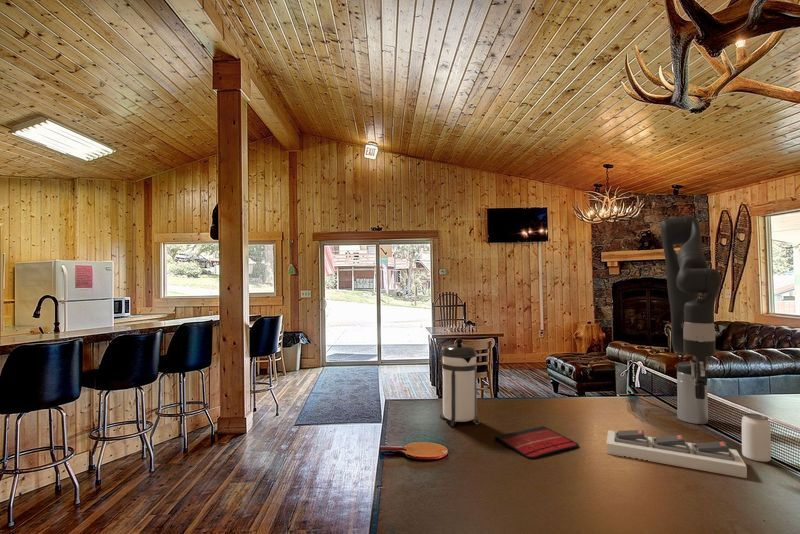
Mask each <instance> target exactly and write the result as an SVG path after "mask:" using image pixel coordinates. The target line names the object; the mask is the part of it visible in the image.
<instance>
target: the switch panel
mask: <svg viewBox="0 0 800 534" xmlns="http://www.w3.org/2000/svg"><path fill="white" fill-rule="evenodd" d="M728 449H729V451H728V452H710V453H704V452H699V451H698V448H697V445H696V443H692V442H686V441H685V444H682V445H672V446H661V445H657V442H656V437H655V436H654V437H653V436H647V435H645V439H619V438H618V431H614V430H609V429H608V430H607V437H606V454H608V455H613V456H620V457H624V456H626V457H625V458H629V457H631V458H630V459H635V458H638V459H637V460H641V459H643V460H642V461H646V460H648V462H651V463H652V462H654V463H659V464H665V465H669V466H676V467H679V468H680V467H681V468H687V469H692V470H698V471H704V472H709V473H715V474H721V475H727V476H733V477H738V478H743V479H747V478H748V474H747V473H748V470H747V467H748V466H747V465H746V463H745V462H744V460H743V459H742V456H740V453H739V452H738V450H737V449H733V448H728Z"/></svg>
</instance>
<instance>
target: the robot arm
mask: <svg viewBox="0 0 800 534" xmlns="http://www.w3.org/2000/svg"><path fill="white" fill-rule="evenodd" d="M700 227H701V226H700V223H699V220H698V219H697V218H696V217H695V216H693V215H688V216H687V215H686V216H678V217H671V218H665V219H663V220H662V221H661V222H660V235H661V242H662V250H663V253H664V261H665V268H666V269H665V270H666V271H665V272H666V283H667V284H666V286H667V296H668V302H669V309H670V310H669V311H670V320H671V321H670V322H671V323H670V324H671V325H670V326H671V327H670V329H671V330H670V331H671V345H672V348H673V350H674V351H675V352H676V353H680V354H685V355H689V356H692V359H690V360H687V361H682V362H678V363H677V365H676V387H677V388H676V389H677V390H676V391H677V392H676V394H677V395H676V396H677V397H676V398H677V399H676V400H677V402H676V403H677V406H676V407H677V412H676V413H677V416H676V417H677V419H679V420H680V421H682V422H686V423H690V424H696V425H699V424H700V425H704V424H708V423H709V394H708V393H709V392H708V390H709V389H708V385H709V384H708V377H709V369H710V364H709V362H708V358H709V357H711V358H712V357H714V356H715V355H716V329H715V315H714V314H715V311H714V310H715V303H716V300H717V295H718V293H719V289H720V287H721V284H722V275H721V274H720V272H719V271H718V270H717V269H715V268H708V267H709V265H708V262H707V259H706V256H705V254H704V251H703V241H702V234H701V228H700ZM674 245H682V246H681V247H680V249H678V251H676V249H675V247H674ZM700 294H704V295H703V297H702V298H700V299H699V296H700Z"/></svg>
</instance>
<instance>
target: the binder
mask: <svg viewBox="0 0 800 534" xmlns="http://www.w3.org/2000/svg"><path fill="white" fill-rule="evenodd" d="M494 442H501V443H503V445H502V446H503V447H505V448H507V449H509V450H510V451H512V452H514V453H516V454H518V455H519V456H521V457H524V458H526V459H528V460H536V459H539V458H542V457H545V456H548V455H549V456H550V455H552V454H556V453H559V452H563V451H567V450H575V449H578V448H579V443H578V442H575V441H574V440H572V439H571V438H568V437H566V436H565V435H563V434H560V433H559V432H557V431H554V430H552V429H550V428H548V427H546V426H543V425H541V426H537V427H533V428H528V429H524V430H519V431H514V432H510V433H503V434H500V435H495V436H494Z"/></svg>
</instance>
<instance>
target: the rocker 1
mask: <svg viewBox="0 0 800 534" xmlns="http://www.w3.org/2000/svg"><path fill="white" fill-rule="evenodd" d="M644 431H645V430H644V429H633V430H632V429H630V430H618V431H617V432H618V438H619V439H645V436H646V435H645V432H644Z"/></svg>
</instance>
